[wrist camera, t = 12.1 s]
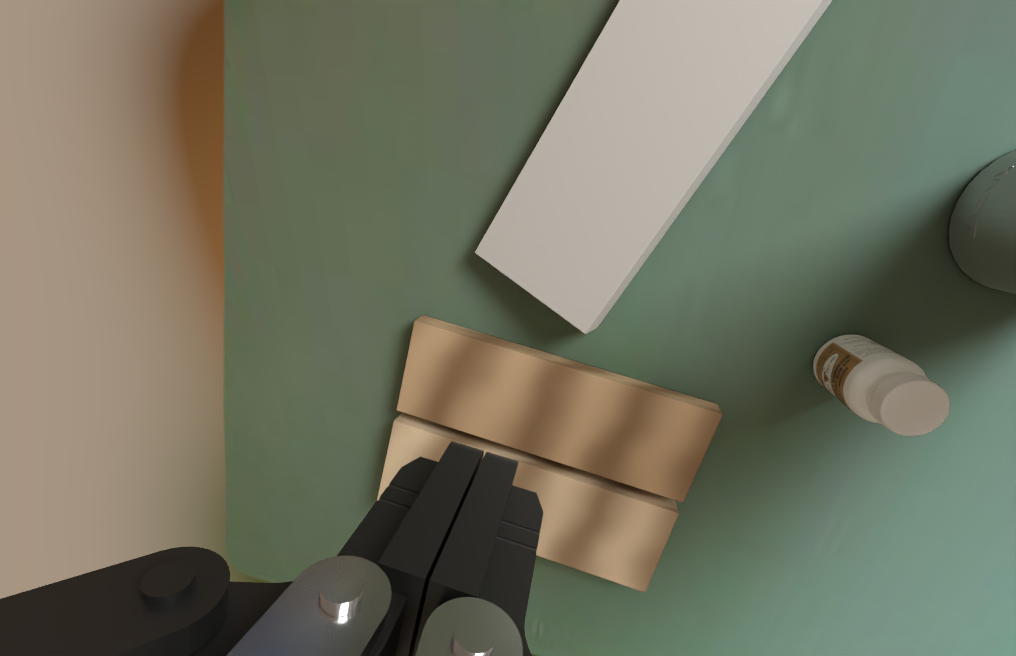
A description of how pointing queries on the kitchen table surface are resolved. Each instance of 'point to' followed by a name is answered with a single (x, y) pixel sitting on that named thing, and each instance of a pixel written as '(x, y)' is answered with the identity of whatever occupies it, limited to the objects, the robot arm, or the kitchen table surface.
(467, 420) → the laid plank
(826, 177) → the kitchen table surface
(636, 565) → the oak plank
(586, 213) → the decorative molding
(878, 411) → the pill bottle
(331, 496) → the kitchen table surface
